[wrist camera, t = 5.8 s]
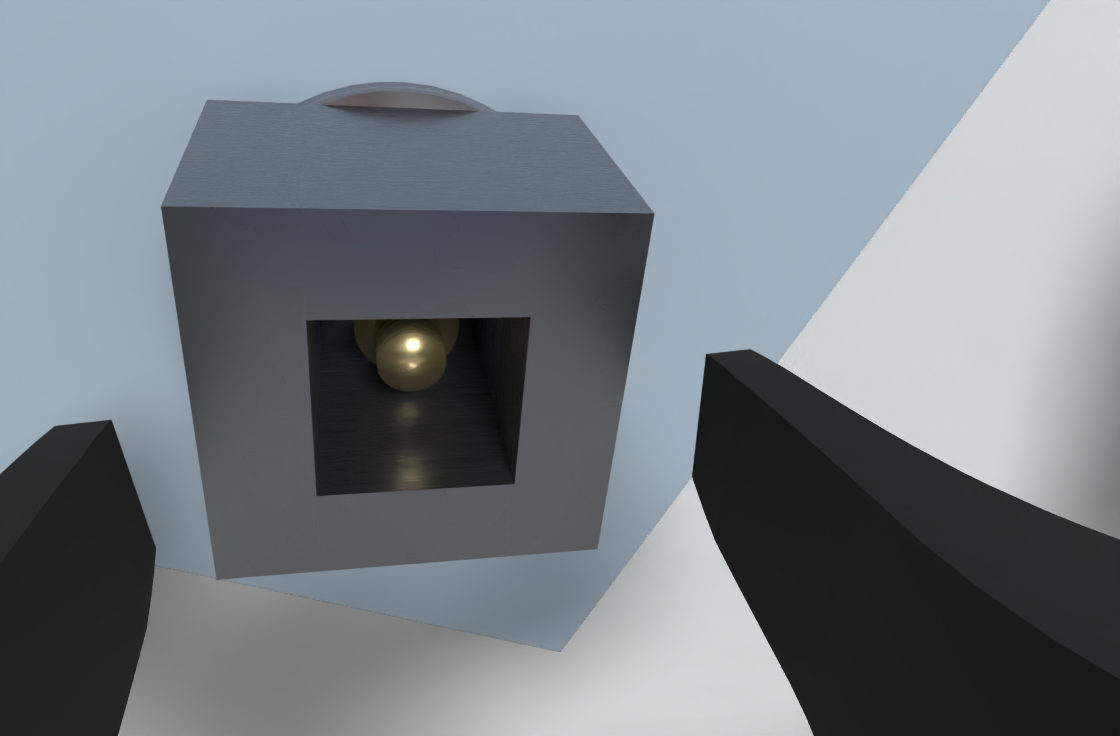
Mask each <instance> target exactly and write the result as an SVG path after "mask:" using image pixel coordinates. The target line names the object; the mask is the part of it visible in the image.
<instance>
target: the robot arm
mask: <svg viewBox="0 0 1120 736" xmlns="http://www.w3.org/2000/svg"><path fill="white" fill-rule="evenodd" d="M692 478H693V481H694V484H695V487H696V489H697V492H698V495H699V498H700V501H701V504H702V507H703V510H704V513H705V515H706V518H707V520H708V523H709V526H710V528H711V531H712V534H713V536H714V539H715V541H716V543H717V545H718V547H719V549H720V551H721V553H722V555H723V557H724V559H725V561H726V563H727V565H728V567H729V569H730V571H731V573H732V575H733V577H734V578H735V580H736V582H737V584H738V586H739V588H740V590H741V592H742V594H743V596H744V598H745V599H746V601H747V603H748V605H749V607H750V609H751V611H752V613H753V614H754V616H755V618H756V620H757V622H758V624H759V626H760V628H761V630H762V631H763V633H764V635H765V637H766V639H767V641H768V643H769V645H770V646H771V648H772V650H773V652H774V654H775V656H776V658H777V660H778V662H779V663H780V665H781V667H782V669H783V671H784V673H785V675H786V677H787V678H788V680H789V682H790V684H791V686H792V688H793V691H794V693H795V695H796V697H797V699H798V701H799V703H800V705H801V707H802V709H803V712H804V714H805V716H806V718H807V720H808V723H809V725H810V728H811V730H812V733H813V735H814V736H1120V540H1119V539H1117V538H1114V537H1111V536H1108V535H1106V534H1103V533H1100V532H1098V531H1095V530H1092V529H1090V528H1087V527H1084V526H1082V525H1079V524H1077V523H1074V522H1072V521H1069V520H1067V519H1065V518H1062V517H1060V516H1057V515H1055V514H1052V513H1050V512H1048V511H1045V510H1043V509H1041V508H1038V507H1036V506H1034V505H1032V504H1030V503H1027V502H1025V501H1023V500H1021V499H1018V498H1016V497H1014V496H1012V495H1010V494H1007V493H1005V492H1003V491H1001V490H999V489H996V488H994V487H992V486H990V485H988V484H986V483H983V482H981V481H979V480H977V479H975V478H973V477H971V476H969V475H967V474H965V473H963V472H961V471H959V470H957V469H955V468H954V467H952V466H950V465H948V464H946V463H944V462H942V461H940V460H939V459H937V458H935V457H933V456H931V455H929V454H927V453H925V452H924V451H922V450H920V449H918V448H916V447H914V446H912V445H911V444H909V443H907V442H905V441H904V440H902V439H900V438H898V437H897V436H895V435H893V434H891V433H890V432H888V431H886V430H884V429H883V428H881V427H879V426H878V425H876V424H874V423H873V422H871V421H869V420H868V419H866V418H864V417H863V416H861V415H859V414H858V413H856V412H854V411H853V410H851V409H849V408H848V407H846V406H844V405H843V404H841V403H840V402H838V401H836V400H835V399H833V398H831V397H830V396H828V395H827V394H825V393H823V392H822V391H820V390H819V389H817V388H815V387H814V386H812V385H811V384H809V383H807V382H806V381H804V380H803V379H801V378H799V377H798V376H796V375H795V374H793V373H791V372H790V371H788V370H786V369H785V368H783V367H782V366H780V365H778V364H777V363H775V362H773V361H771V360H770V359H768V358H766V357H764V356H763V355H761V354H759V353H757V352H755V351H753V350H751V349H746V350H737V351H728V352H719V353H710V354H706V358H705V366H704V375H703V384H702V392H701V401H700V410H699V418H698V427H697V436H696V444H695V453H694V462H693V470H692ZM155 557H156V546H155V543H154V540H153V537H152V535H151V532H150V529H149V526H148V523H147V520H146V517H145V514H144V512H143V509H142V506H141V503H140V500H139V497H138V494H137V491H136V488H135V486H134V483H133V480H132V477H131V474H130V471H129V468H128V465H127V463H126V460H125V457H124V454H123V451H122V448H121V445H120V442H119V439H118V437H117V434H116V431H115V428H114V425H113V422H112V420H103V421H94V422H85V423H76V424H67V425H58V426H54V427H53V428H52V429H50V430H49V431H48V432H47V433H45V434H44V435H43V436H42V437H41V438H39V439H38V440H37V441H36V442H35V443H34V444H32V445H31V446H30V447H29V448H28V449H27V450H26V451H25V452H24V453H22V454H21V455H20V456H19V457H18V458H17V459H16V460H15V461H14V462H13V463H11V464H10V465H9V466H8V467H7V468H6V469H5V470H4V471H3V472H2V473H1V474H0V736H118V733H119V730H120V726H121V722H122V719H123V715H124V712H125V708H126V704H127V701H128V697H129V693H130V690H131V686H132V682H133V678H134V674H135V671H136V667H137V663H138V659H139V656H140V652H141V648H142V644H143V640H144V636H145V632H146V628H147V623H148V615H149V608H150V601H151V593H152V585H153V576H154V566H155Z"/></svg>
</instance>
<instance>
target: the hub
mask: <svg viewBox="0 0 1120 736" xmlns="http://www.w3.org/2000/svg"><path fill="white" fill-rule="evenodd" d="M299 103H300V104H324V105H348V106H371V107H395V108H419V109H443V110H467V111H491V112H496V111H494V110H493V109H491V108H489V107H488V106H486V105H484V104H482V103H480V102H478V101H475V100H473V99H471V98H468V97H466V96H464V95H461V94H459V93H455V92H452V91H448V90H445V89H441V88H438V87H434V86H428V85H421V84H415V83H408V82H374V83H366V84H357V85H350V86H346V87H343V88H339V89H335V90H331V91H327V92H324V93H321V94H319V95H316V96H314V97H311V98H309V99H307V100H304V101H302V102H299ZM477 330H478V318H432V319H363V320H320V339H321V344H323V343H357V344H358V346H359V348H360V350H361V351H362V353H363V354H364V355H365V356H366V357H367V358H368V359H369V360H370V361H372V362H373V363H374V364H376V365H377V369H378V373H379V375H380V377H381V378H382V379H383V381H384V382H385V383H386V384H388V385H389V386H391V387H393V388H395V389H397V390H401V391H409V392H412V391H420V390H423V389H426V388H428V387H430V386H432V385H433V384H435V383H436V382H437V381H438V380H439V379H440V378H441V376H442V375H443V373H444V371H445V368H446V355H447V354H448V353H449V352H450V351H451V349H452V348H453V346H454V344H455V342H456V341H468V340H477Z"/></svg>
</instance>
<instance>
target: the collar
mask: <svg viewBox="0 0 1120 736" xmlns="http://www.w3.org/2000/svg"><path fill="white" fill-rule="evenodd" d="M161 211H162V218H163V225H164V231H165V238H166V245H167V251H168V258H169V265H170V271H171V278H172V285H173V292H174V298H175V305H176V312H177V318H178V325H179V332H180V338H181V345H182V352H183V359H184V365H185V372H186V379H187V385H188V392H189V399H190V405H191V412H192V419H193V426H194V432H195V439H196V446H197V452H198V459H199V466H200V472H201V479H202V486H203V493H204V499H205V506H206V513H207V519H208V526H209V533H210V540H211V546H212V553H213V560H214V566H215V573H216V580H220V579H233V578H245V577H258V576H270V575H283V574H295V573H308V572H320V571H332V570H345V569H357V568H370V567H382V566H395V565H407V564H420V563H432V562H445V561H457V560H470V559H482V558H495V557H507V556H520V555H532V554H545V553H557V552H570V551H582V550H594V549H598V543H599V538H600V532H601V526H602V520H603V514H604V508H605V502H606V496H607V491H608V485H609V479H610V473H611V467H612V461H613V455H614V449H615V444H616V438H617V432H618V426H619V420H620V414H621V408H622V402H623V397H624V391H625V385H626V379H627V373H628V367H629V361H630V355H631V350H632V344H633V338H634V332H635V326H636V320H637V314H638V308H639V303H640V297H641V291H642V285H643V279H644V273H645V267H646V261H647V256H648V250H649V244H650V238H651V232H652V226H653V220H654V214H655V213H654V212H653V211H652V209H651V208H650V207H649V206H648V204H647V203H646V202H645V200H644V199H643V198H642V197H641V195H640V194H639V193H638V191H637V190H636V189H635V188H634V186H633V185H632V184H631V182H630V181H629V180H628V179H627V177H626V176H625V175H624V173H623V172H622V171H621V169H620V168H619V167H618V166H617V164H616V163H615V162H614V160H613V159H612V158H611V157H610V155H609V154H608V153H607V151H606V150H605V149H604V148H603V146H602V145H601V144H600V142H599V141H598V140H597V139H596V137H595V136H594V135H593V133H592V132H591V131H590V130H589V128H588V127H587V126H586V124H585V123H584V122H583V121H582V119H581V118H580V117H579V115H563V114H539V113H515V112H491V111H467V110H443V109H419V108H395V107H371V106H348V105H324V104H300V103H276V102H252V101H228V100H207V101H206V103H205V105H204V108H203V110H202V112H201V115H200V117H199V119H198V122H197V124H196V126H195V128H194V131H193V133H192V135H191V138H190V140H189V142H188V145H187V147H186V149H185V152H184V154H183V156H182V158H181V161H180V163H179V165H178V168H177V170H176V172H175V175H174V177H173V179H172V182H171V184H170V186H169V188H168V191H167V193H166V195H165V198H164V200H163V202H162V205H161ZM432 318H478V330H477V340H468V341H456V342H455V344H454V346H453V348H452V349H451V351H450V352H449V353H448V354H447V355H446V368H445V371H444V373H443V375H442V376H441V378H440V379H439V380H438V381H437V382H436V383H435V384H433V385H432V386H430V387H428V388H426V389H423V390H420V391H412V392H409V391H401V390H397V389H395V388H393V387H391V386H389V385H388V384H386V383H385V382H384V381H383V379H382V378H381V377H380V375H379V373H378V369H377V365H376V364H374V363H373V362H372V361H370V360H369V359H368V358H367V357H366V356H365V355H364V354H363V353H362V351H361V350H360V348H359V346H358V344H357V343H323V344H321V339H320V320H363V319H432Z"/></svg>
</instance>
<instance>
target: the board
mask: <svg viewBox="0 0 1120 736" xmlns="http://www.w3.org/2000/svg"><path fill="white" fill-rule="evenodd" d="M1049 1H1050V0H0V474H1V473H2V472H3V471H4V470H5V469H6V468H7V467H8V466H9V465H10V464H11V463H13V462H14V461H15V460H16V459H17V458H18V457H19V456H20V455H21V454H22V453H24V452H25V451H26V450H27V449H28V448H29V447H30V446H31V445H32V444H34V443H35V442H36V441H37V440H38V439H39V438H41V437H42V436H43V435H44V434H45V433H47V432H48V431H49V430H50V429H52V428H53V427H54V426H58V425H67V424H76V423H85V422H94V421H103V420H112V422H113V425H114V428H115V431H116V434H117V437H118V439H119V442H120V445H121V448H122V451H123V454H124V457H125V460H126V463H127V465H128V468H129V471H130V474H131V477H132V480H133V483H134V486H135V488H136V491H137V494H138V497H139V500H140V503H141V506H142V509H143V512H144V514H145V517H146V520H147V523H148V526H149V529H150V532H151V535H152V537H153V540H154V543H155V546H156V557H155V566H160V567H165V568H169V569H174V570H179V571H183V572H188V573H193V574H197V575H202V576H207V577H211V578H216V573H215V566H214V560H213V553H212V546H211V540H210V533H209V526H208V519H207V513H206V506H205V499H204V493H203V486H202V479H201V472H200V466H199V459H198V452H197V446H196V439H195V432H194V426H193V419H192V412H191V405H190V399H189V392H188V385H187V379H186V372H185V365H184V359H183V352H182V345H181V338H180V332H179V325H178V318H177V312H176V305H175V298H174V292H173V285H172V278H171V271H170V265H169V258H168V251H167V245H166V238H165V231H164V225H163V218H162V211H161V205H162V202H163V200H164V198H165V195H166V193H167V191H168V188H169V186H170V184H171V182H172V179H173V177H174V175H175V172H176V170H177V168H178V165H179V163H180V161H181V158H182V156H183V154H184V152H185V149H186V147H187V145H188V142H189V140H190V138H191V135H192V133H193V131H194V128H195V126H196V124H197V122H198V119H199V117H200V115H201V112H202V110H203V108H204V105H205V103H206V101H207V100H228V101H252V102H276V103H299V102H302V101H304V100H307V99H309V98H311V97H314V96H316V95H319V94H321V93H324V92H327V91H331V90H335V89H339V88H343V87H346V86H350V85H357V84H366V83H374V82H408V83H415V84H421V85H428V86H434V87H438V88H441V89H445V90H448V91H452V92H455V93H459V94H461V95H464V96H466V97H468V98H471V99H473V100H475V101H478V102H480V103H482V104H484V105H486V106H488V107H489V108H491V109H493V110H494V111H496V112H515V113H539V114H563V115H579V117H580V118H581V119H582V121H583V122H584V123H585V124H586V126H587V127H588V128H589V130H590V131H591V132H592V133H593V135H594V136H595V137H596V139H597V140H598V141H599V142H600V144H601V145H602V146H603V148H604V149H605V150H606V151H607V153H608V154H609V155H610V157H611V158H612V159H613V160H614V162H615V163H616V164H617V166H618V167H619V168H620V169H621V171H622V172H623V173H624V175H625V176H626V177H627V179H628V180H629V181H630V182H631V184H632V185H633V186H634V188H635V189H636V190H637V191H638V193H639V194H640V195H641V197H642V198H643V199H644V200H645V202H646V203H647V204H648V206H649V207H650V208H651V209H652V211H653V212H654V213H655V214H654V220H653V226H652V232H651V238H650V244H649V250H648V256H647V261H646V267H645V273H644V279H643V285H642V291H641V297H640V303H639V308H638V314H637V320H636V326H635V332H634V338H633V344H632V350H631V355H630V361H629V367H628V373H627V379H626V385H625V391H624V397H623V402H622V408H621V414H620V420H619V426H618V432H617V438H616V444H615V449H614V455H613V461H612V467H611V473H610V479H609V485H608V491H607V496H606V502H605V508H604V514H603V520H602V526H601V532H600V538H599V543H598V549H594V550H582V551H570V552H557V553H545V554H532V555H520V556H507V557H495V558H482V559H470V560H457V561H445V562H432V563H420V564H407V565H395V566H382V567H370V568H357V569H345V570H332V571H320V572H308V573H295V574H283V575H270V576H258V577H245V578H233V579H221V580H226V581H230V582H235V583H240V584H244V585H249V586H254V587H258V588H263V589H268V590H272V591H277V592H282V593H286V594H291V595H296V596H300V597H305V598H310V599H314V600H319V601H324V602H328V603H333V604H338V605H342V606H347V607H352V608H356V609H361V610H366V611H370V612H375V613H380V614H384V615H389V616H394V617H398V618H403V619H408V620H412V621H417V622H422V623H426V624H431V625H436V626H440V627H445V628H450V629H454V630H459V631H464V632H468V633H473V634H478V635H482V636H487V637H492V638H497V639H501V640H506V641H511V642H515V643H520V644H525V645H529V646H534V647H539V648H543V649H548V650H553V651H557V652H561V650H562V649H563V648H564V646H565V645H566V644H567V642H568V641H569V640H570V638H571V637H572V636H573V634H574V633H575V632H576V630H577V629H578V628H579V626H580V625H581V624H582V622H583V621H584V620H585V618H586V617H587V616H588V614H589V613H590V612H591V610H592V609H593V608H594V606H595V605H596V604H597V602H598V601H599V600H600V598H601V597H602V596H603V594H604V593H605V592H606V590H607V589H608V588H609V586H610V585H611V584H612V582H613V581H614V580H615V578H616V577H617V576H618V574H619V573H620V572H621V570H622V569H623V568H624V566H625V565H626V564H627V562H628V561H629V560H630V558H631V557H632V556H633V554H634V553H635V552H636V550H637V549H638V548H639V546H640V545H641V544H642V542H643V541H644V540H645V538H646V537H647V536H648V535H649V533H650V532H651V531H652V529H653V528H654V527H655V525H656V524H657V523H658V521H659V520H660V519H661V517H662V516H663V515H664V513H665V512H666V511H667V509H668V508H669V507H670V505H671V504H672V503H673V501H674V500H675V499H676V497H677V496H678V495H679V493H680V492H681V491H682V489H683V488H684V487H685V485H686V484H687V483H688V481H689V480H690V479H691V477H692V470H693V462H694V453H695V444H696V436H697V427H698V418H699V410H700V401H701V392H702V384H703V375H704V366H705V358H706V354H710V353H719V352H728V351H737V350H746V349H751V350H753V351H755V352H757V353H759V354H761V355H763V356H764V357H766V358H768V359H770V360H771V361H773V362H775V363H778V362H779V360H780V359H781V358H782V356H783V355H784V354H785V352H786V351H787V350H788V348H789V347H790V346H791V344H792V343H793V342H794V340H795V339H796V338H797V336H798V335H799V334H800V332H801V331H802V330H803V328H804V327H805V326H806V324H807V323H808V322H809V320H810V319H811V318H812V316H813V315H814V314H815V312H816V311H817V310H818V308H819V307H820V306H821V304H822V303H823V302H824V300H825V299H826V298H827V297H828V295H829V294H830V293H831V291H832V290H833V289H834V287H835V286H836V285H837V283H838V282H839V281H840V279H841V278H842V277H843V275H844V274H845V273H846V271H847V270H848V269H849V267H850V266H851V265H852V263H853V262H854V261H855V259H856V258H857V257H858V255H859V254H860V253H861V251H862V250H863V249H864V247H865V246H866V245H867V243H868V242H869V241H870V239H871V238H872V237H873V235H874V234H875V233H876V231H877V230H878V229H879V227H880V226H881V225H882V223H883V222H884V221H885V219H886V218H887V217H888V215H889V214H890V213H891V211H892V210H893V209H894V207H895V206H896V205H897V203H898V202H899V201H900V199H901V198H902V197H903V195H904V194H905V193H906V191H907V190H908V189H909V187H910V186H911V185H912V183H913V182H914V181H915V180H916V178H917V177H918V176H919V174H920V173H921V172H922V170H923V169H924V168H925V166H926V165H927V164H928V162H929V161H930V160H931V158H932V157H933V156H934V154H935V153H936V152H937V150H938V149H939V148H940V146H941V145H942V144H943V142H944V141H945V140H946V138H947V137H948V136H949V134H950V133H951V132H952V130H953V129H954V128H955V126H956V125H957V124H958V122H959V121H960V120H961V118H962V117H963V116H964V114H965V113H966V112H967V110H968V109H969V108H970V106H971V105H972V104H973V102H974V101H975V100H976V98H977V97H978V96H979V94H980V93H981V92H982V90H983V89H984V88H985V86H986V85H987V84H988V82H989V81H990V80H991V78H992V77H993V76H994V74H995V73H996V72H997V70H998V69H999V68H1000V66H1001V65H1002V64H1003V63H1004V61H1005V60H1006V59H1007V57H1008V56H1009V55H1010V53H1011V52H1012V51H1013V49H1014V48H1015V47H1016V45H1017V44H1018V43H1019V41H1020V40H1021V39H1022V37H1023V36H1024V35H1025V33H1026V32H1027V31H1028V29H1029V28H1030V27H1031V25H1032V24H1033V23H1034V21H1035V20H1036V19H1037V17H1038V16H1039V15H1040V13H1041V12H1042V11H1043V9H1044V8H1045V7H1046V5H1047V4H1048V3H1049Z"/></svg>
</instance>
